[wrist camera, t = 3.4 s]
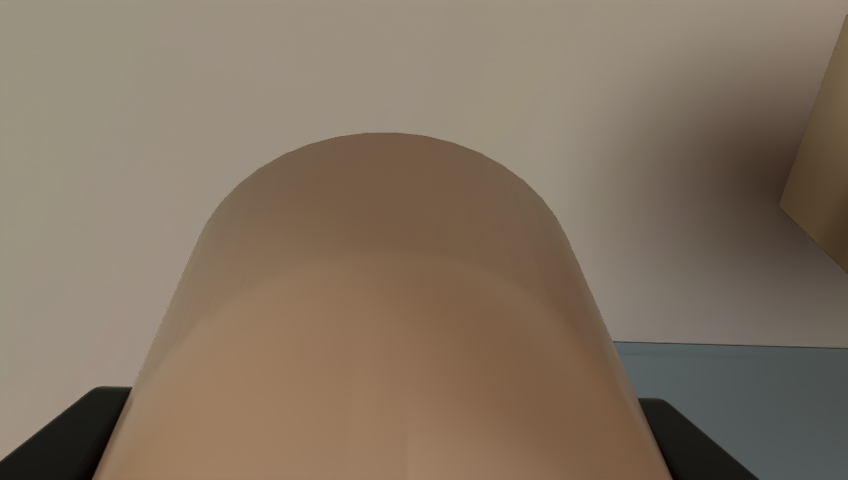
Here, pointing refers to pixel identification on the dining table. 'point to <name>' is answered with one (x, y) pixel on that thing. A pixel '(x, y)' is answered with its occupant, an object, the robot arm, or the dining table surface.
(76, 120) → the dining table surface
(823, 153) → the walnut cube
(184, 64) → the dining table surface
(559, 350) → the brown egg
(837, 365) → the tote
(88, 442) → the robot arm
